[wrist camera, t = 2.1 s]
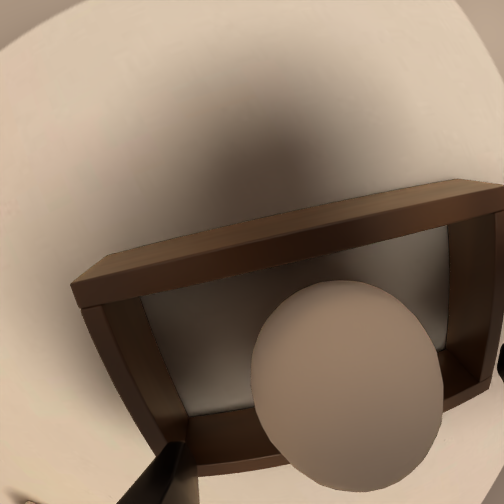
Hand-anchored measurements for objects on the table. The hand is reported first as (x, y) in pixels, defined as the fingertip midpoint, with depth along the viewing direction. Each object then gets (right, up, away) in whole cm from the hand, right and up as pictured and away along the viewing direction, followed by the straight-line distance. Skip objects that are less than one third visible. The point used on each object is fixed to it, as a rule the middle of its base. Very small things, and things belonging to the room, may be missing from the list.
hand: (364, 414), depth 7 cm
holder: (0, +1, +5) cm, 5 cm away
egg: (0, +1, +5) cm, 5 cm away
